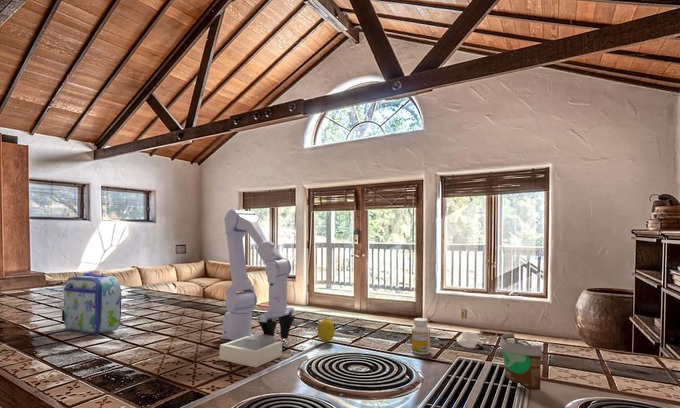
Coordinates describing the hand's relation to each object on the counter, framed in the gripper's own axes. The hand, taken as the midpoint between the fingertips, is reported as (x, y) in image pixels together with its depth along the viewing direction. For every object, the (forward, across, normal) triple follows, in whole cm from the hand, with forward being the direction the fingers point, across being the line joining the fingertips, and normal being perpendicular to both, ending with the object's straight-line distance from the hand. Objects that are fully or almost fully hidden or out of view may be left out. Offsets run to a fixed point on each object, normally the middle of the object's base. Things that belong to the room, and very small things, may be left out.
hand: (277, 341), depth 119 cm
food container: (+2, +5, -68) cm, 68 cm away
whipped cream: (+2, +32, -52) cm, 61 cm away
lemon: (+2, +12, -11) cm, 16 cm away
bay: (+2, -12, 0) cm, 12 cm away
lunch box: (+2, -17, +74) cm, 76 cm away
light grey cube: (+2, -8, 0) cm, 9 cm away
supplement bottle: (+2, +17, -41) cm, 45 cm away
